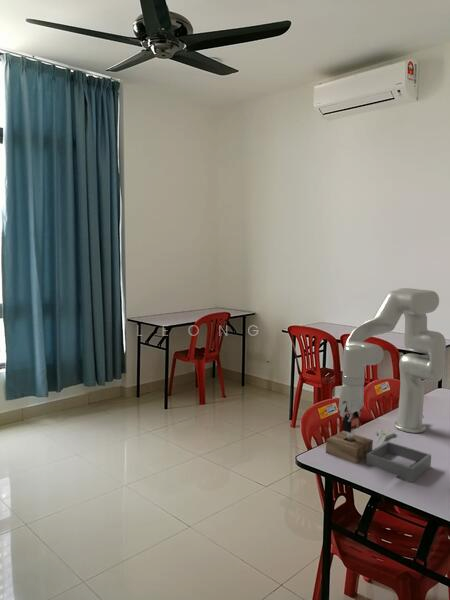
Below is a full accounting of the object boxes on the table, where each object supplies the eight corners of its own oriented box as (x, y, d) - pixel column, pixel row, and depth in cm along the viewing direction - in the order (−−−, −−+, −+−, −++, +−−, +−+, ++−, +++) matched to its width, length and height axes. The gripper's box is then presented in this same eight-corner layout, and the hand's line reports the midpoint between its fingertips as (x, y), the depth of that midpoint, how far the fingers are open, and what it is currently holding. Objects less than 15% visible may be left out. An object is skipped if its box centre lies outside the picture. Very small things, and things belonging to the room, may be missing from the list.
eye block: (342, 445, 183) (343, 430, 182) (371, 455, 175) (372, 440, 174) (325, 455, 174) (326, 439, 174) (355, 466, 166) (356, 449, 165)
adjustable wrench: (378, 456, 175) (378, 452, 175) (360, 452, 179) (360, 447, 179) (395, 434, 196) (395, 430, 196) (379, 431, 200) (379, 427, 200)
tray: (386, 452, 178) (387, 441, 177) (430, 467, 167) (431, 454, 166) (365, 466, 166) (366, 453, 166) (411, 482, 155) (412, 469, 155)
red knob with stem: (347, 442, 178) (348, 414, 177) (360, 447, 174) (361, 417, 173) (339, 446, 174) (341, 417, 173) (352, 451, 171) (354, 421, 169)
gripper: (355, 373, 180) (353, 420, 182) (331, 382, 168) (329, 432, 170) (374, 377, 175) (371, 425, 177) (350, 387, 163) (348, 438, 165)
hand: (350, 428), depth 174 cm, fingers closed on red knob with stem, 5 cm apart
